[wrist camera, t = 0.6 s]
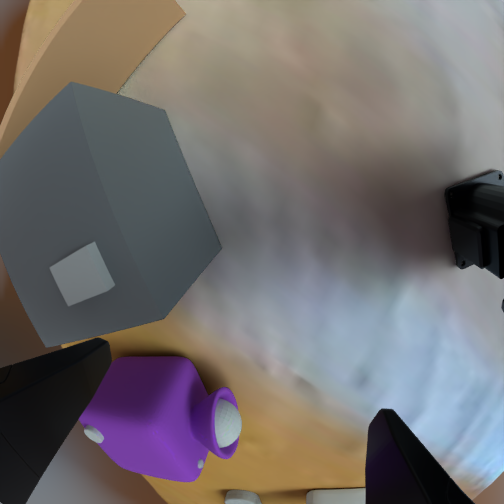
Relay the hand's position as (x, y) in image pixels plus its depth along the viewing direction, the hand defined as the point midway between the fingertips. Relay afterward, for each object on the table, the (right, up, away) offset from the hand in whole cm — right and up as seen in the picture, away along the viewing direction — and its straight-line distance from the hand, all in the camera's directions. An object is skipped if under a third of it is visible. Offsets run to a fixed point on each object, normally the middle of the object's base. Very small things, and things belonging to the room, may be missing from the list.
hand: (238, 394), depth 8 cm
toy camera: (-7, -9, +18) cm, 21 cm away
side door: (-11, +17, +10) cm, 22 cm away
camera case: (-8, +8, +13) cm, 17 cm away
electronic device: (0, -40, +27) cm, 48 cm away
